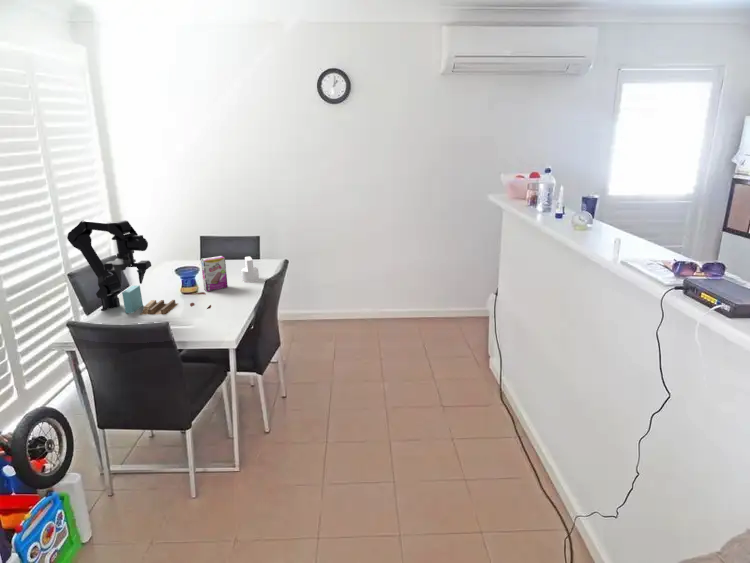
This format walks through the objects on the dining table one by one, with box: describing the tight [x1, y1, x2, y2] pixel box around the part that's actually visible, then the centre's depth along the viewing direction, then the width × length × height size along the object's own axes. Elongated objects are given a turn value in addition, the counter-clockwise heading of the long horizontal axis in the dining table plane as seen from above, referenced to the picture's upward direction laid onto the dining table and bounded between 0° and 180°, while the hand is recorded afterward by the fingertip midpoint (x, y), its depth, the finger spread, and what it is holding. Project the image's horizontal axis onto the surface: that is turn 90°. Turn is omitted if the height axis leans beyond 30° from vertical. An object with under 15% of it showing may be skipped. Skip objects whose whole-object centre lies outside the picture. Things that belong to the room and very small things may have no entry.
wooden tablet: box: [189, 291, 212, 310], centre depth 240 cm, size 27×10×2 cm, turn 22°
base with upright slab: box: [240, 256, 260, 283], centre depth 270 cm, size 9×9×12 cm
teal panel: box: [121, 285, 144, 314], centre depth 226 cm, size 3×10×10 cm, turn 179°
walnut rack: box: [139, 299, 180, 316], centre depth 227 cm, size 12×14×3 cm
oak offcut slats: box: [141, 299, 158, 313], centre depth 227 cm, size 3×10×2 cm, turn 179°
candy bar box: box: [200, 255, 228, 292], centre depth 256 cm, size 11×5×16 cm, turn 126°
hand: (130, 283), depth 224 cm, fingers open, 9 cm apart
